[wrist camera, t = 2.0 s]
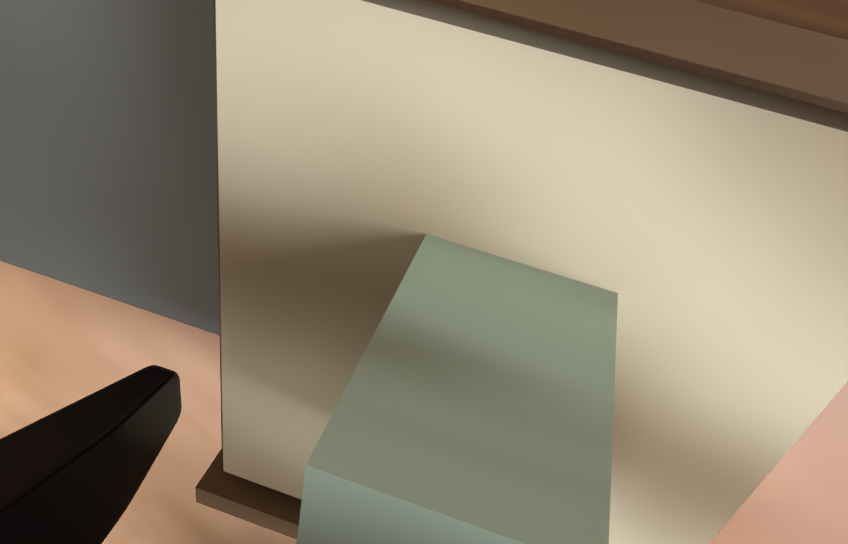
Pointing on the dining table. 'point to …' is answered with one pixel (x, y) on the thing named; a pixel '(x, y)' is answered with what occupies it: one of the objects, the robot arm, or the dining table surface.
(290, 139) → the cover plate
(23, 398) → the dining table surface
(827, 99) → the walnut box
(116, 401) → the robot arm
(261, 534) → the dining table surface
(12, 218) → the rubber mat
